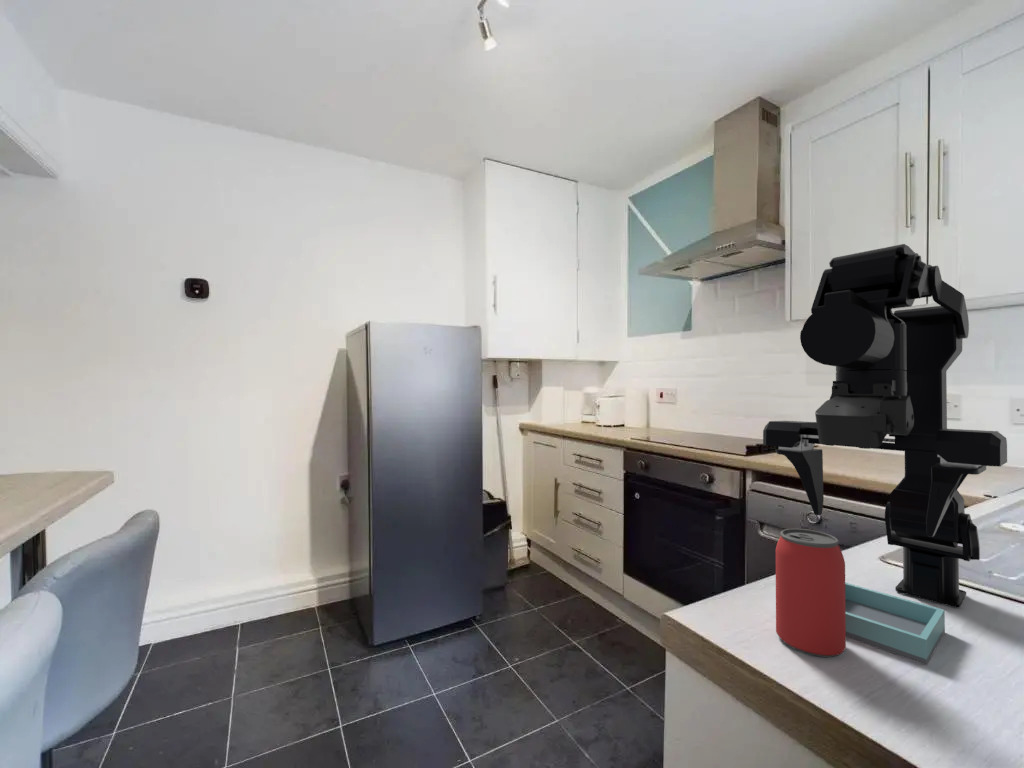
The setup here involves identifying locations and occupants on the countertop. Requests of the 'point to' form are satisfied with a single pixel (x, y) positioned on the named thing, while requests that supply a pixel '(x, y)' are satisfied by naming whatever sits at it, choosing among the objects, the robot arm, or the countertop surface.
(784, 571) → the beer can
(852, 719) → the countertop surface
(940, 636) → the tray
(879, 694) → the countertop surface
